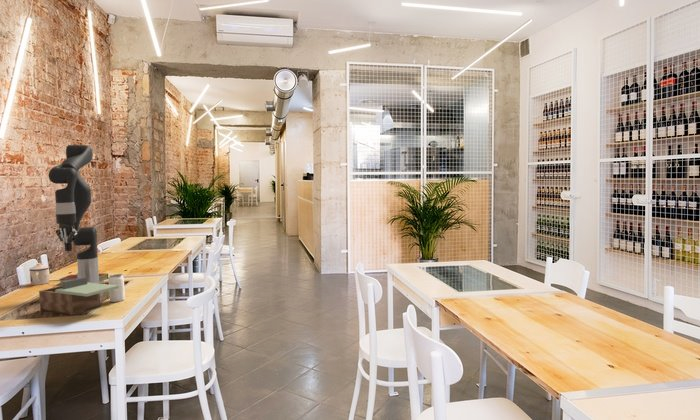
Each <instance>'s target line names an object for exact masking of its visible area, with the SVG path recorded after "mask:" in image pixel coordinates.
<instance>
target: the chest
mask: <svg viewBox="0 0 700 420" xmlns="http://www.w3.org/2000/svg"><path fill="white" fill-rule="evenodd" d="M61 288H62V285H59V286H56V287H55V286H54V287H51V288H46V289H42V290H39V291H38V292H39V293H38V294H39V308H40V309H39V310H40V312H46V313H53V314H58V315H64V316H73V315H76V314H80V313H83V312H87V311H91V310H93V309H97V308H101V293H99V294H95V295H91V296H87V297H86V296H78V295H70V294H62V293H55V290H57V289H61Z"/></svg>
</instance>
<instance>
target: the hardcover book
mask: <svg viewBox="0 0 700 420" xmlns="http://www.w3.org/2000/svg"><path fill="white" fill-rule="evenodd" d="M73 279H77V274H69V275H66V276H63V277H60V278H58V280H59V283H60V285H59V286H62V282H64V281H68V280H73ZM104 280H105V281H107V280H109V273H99V284H101V283H102V281H103V282H105V281H104ZM100 282H101V283H100Z"/></svg>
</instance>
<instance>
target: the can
mask: <svg viewBox="0 0 700 420" xmlns="http://www.w3.org/2000/svg"><path fill="white" fill-rule="evenodd" d="M108 285H118V286H119V288H118V289H114V290H110V291H108V293H109V294H108V295H109V296H108V297H109V302H110V303H119V302H123V301H125V300H126V293H125V277H124V276H123V274H121V273H119V274H118V273H116V274H111V275H108Z"/></svg>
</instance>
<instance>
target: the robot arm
mask: <svg viewBox="0 0 700 420" xmlns="http://www.w3.org/2000/svg"><path fill="white" fill-rule="evenodd" d="M65 148H66V149H65V157H66V159H64V161H62V163H61V164H57V165H55V166H53V167H52V168H51V169H50V170H49V172H48V179H49V181H50V182H51V183H53V184H54V185H55V184H56V185H57V184H58V185H60V184H65V185H66V184H67V185H66V187H64V188H59V189H56V190H55V191H54V198H55V206H54V207H55V220H56V221H55V222H56V224H58V229H56V230H55V233H56V235H57V237H58V239H59V241H60V242H62V243H63V244H64V251H65V252H71V251H72V250H73V247H72V246H73V245H74V247H75V246H76V247H77V246H78V247H79V246H89V247H87V249H85V250H83V251H80V252H78V253H77V255H76V264H77V274H76V275H77V279H78V278H82V277H87V282H89V283H99V274H100V273H99V258H98V257H99V256H98V233H97V229H96V227H95V226H88V227H85V226H84V227H80V223H81V220H82V219H83V217H84V215H85V213H86V212H87V210H88V209H89V207H90V206H91V204H92V189H91V187H90V186H89V184H88V183H87V182H86V181H85V179H84V178H83V177H82V175H81V174H80V172H79V170H80V169H82V168H83V167H85V166H87V165H89V164H90V163H91V162H92V160H93V156H94V153H93V150H92V147H91V146H89V145H85V144H69V145H67V146H66V147H65ZM99 284H100V283H99Z"/></svg>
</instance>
